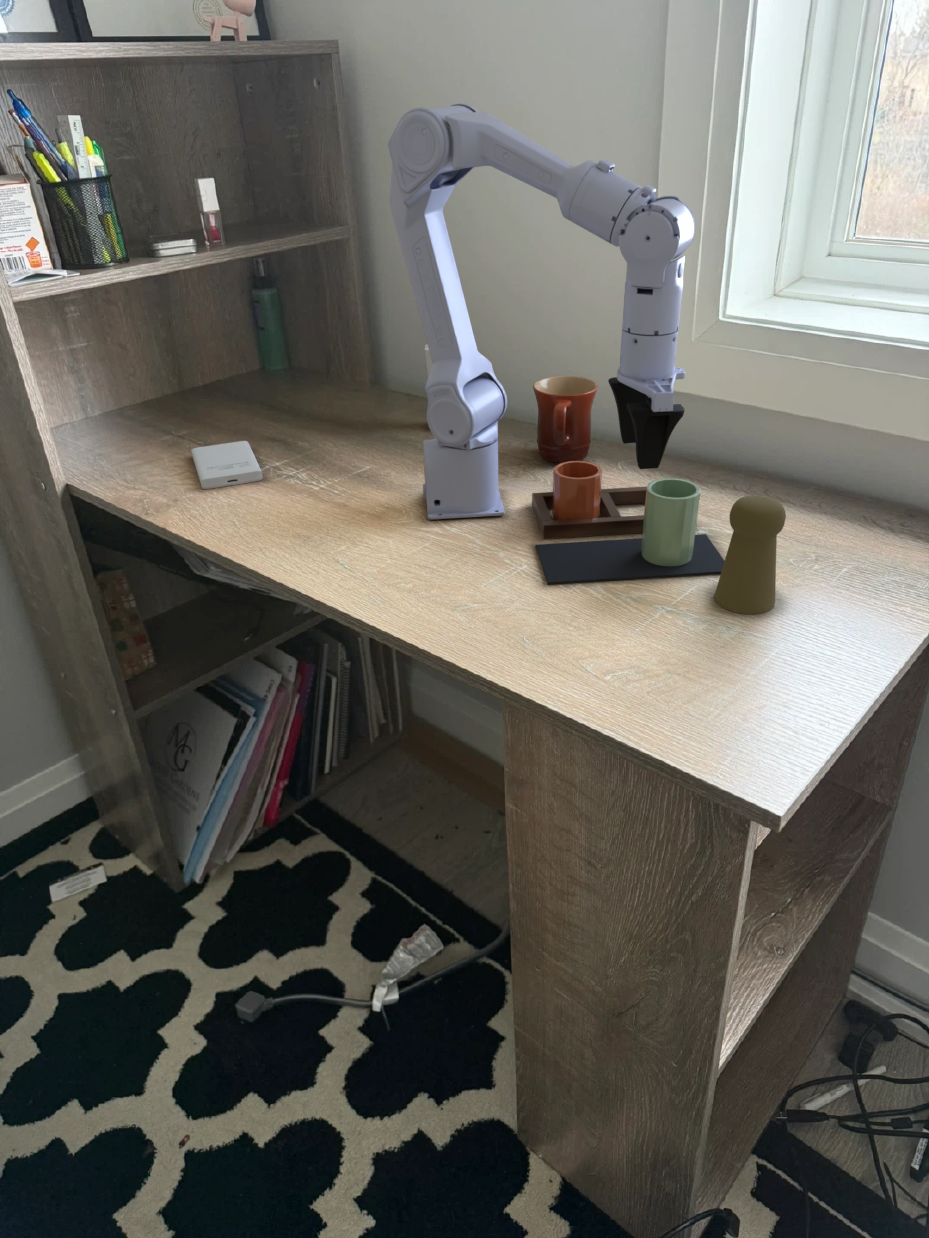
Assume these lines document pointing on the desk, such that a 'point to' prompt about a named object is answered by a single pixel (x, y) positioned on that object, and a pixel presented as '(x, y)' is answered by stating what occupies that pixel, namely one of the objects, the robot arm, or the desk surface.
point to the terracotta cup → (576, 490)
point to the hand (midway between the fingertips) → (639, 454)
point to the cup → (670, 521)
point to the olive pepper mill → (751, 556)
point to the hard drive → (226, 464)
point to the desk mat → (619, 561)
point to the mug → (564, 417)
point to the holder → (592, 526)
